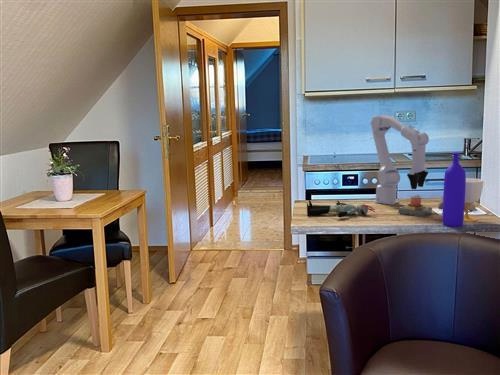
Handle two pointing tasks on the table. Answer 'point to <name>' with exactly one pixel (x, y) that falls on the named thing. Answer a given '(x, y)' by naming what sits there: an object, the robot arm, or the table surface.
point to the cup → (472, 194)
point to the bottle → (454, 194)
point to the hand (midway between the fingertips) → (417, 187)
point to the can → (415, 201)
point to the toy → (337, 209)
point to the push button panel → (415, 210)
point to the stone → (470, 207)
